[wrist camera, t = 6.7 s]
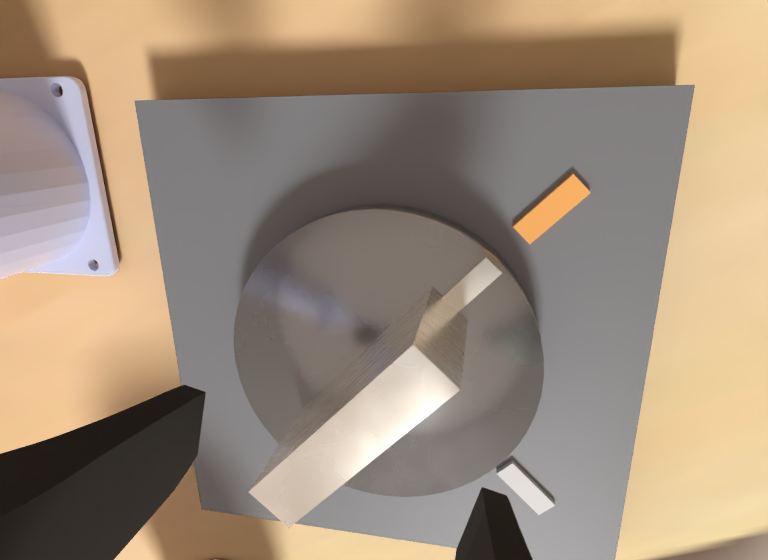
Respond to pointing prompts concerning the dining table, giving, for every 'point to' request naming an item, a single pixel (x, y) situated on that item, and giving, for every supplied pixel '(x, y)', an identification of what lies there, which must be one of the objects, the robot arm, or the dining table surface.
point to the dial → (385, 358)
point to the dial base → (475, 213)
